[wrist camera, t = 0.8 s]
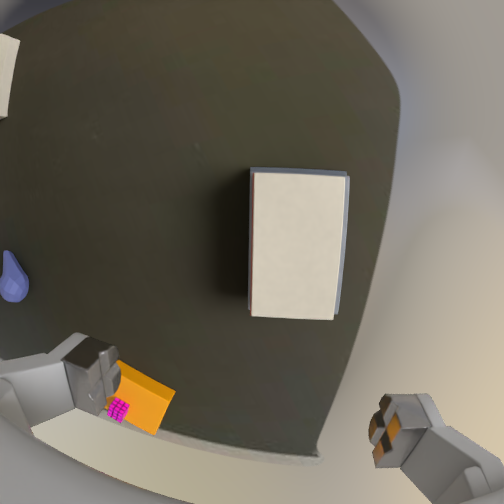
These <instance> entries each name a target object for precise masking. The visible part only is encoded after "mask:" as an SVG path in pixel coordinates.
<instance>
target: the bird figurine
mask: <svg viewBox="0 0 504 504" xmlns="http://www.w3.org/2000/svg"><path fill="white" fill-rule="evenodd" d="M28 288H29V280H28V276H27V275H26V274H25V272H24V271H23V269H22V268H21V266H20V264H19V263H18V261H17V259H16V258H15V256H14V254H13V253H12V252H10V251H4V254H3V274H2V276H1V278H0V293H1V295H2V297H3V298H4V299H5V300H7V301H9V302H20V301H21V300H22V299H23V298H24V297H26V295H27V293H28Z"/></svg>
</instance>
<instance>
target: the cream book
mask: <svg viewBox="0 0 504 504" xmlns="http://www.w3.org/2000/svg"><path fill="white" fill-rule="evenodd" d="M344 194H345V177H340V176H325V175H308V174H285V173H253V183H252V236H251V290H250V316H260V317H277V318H296V319H319V320H333V316H334V309H335V301H336V292H337V283H338V274H339V264H340V253H341V241H342V228H343V213H344Z"/></svg>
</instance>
